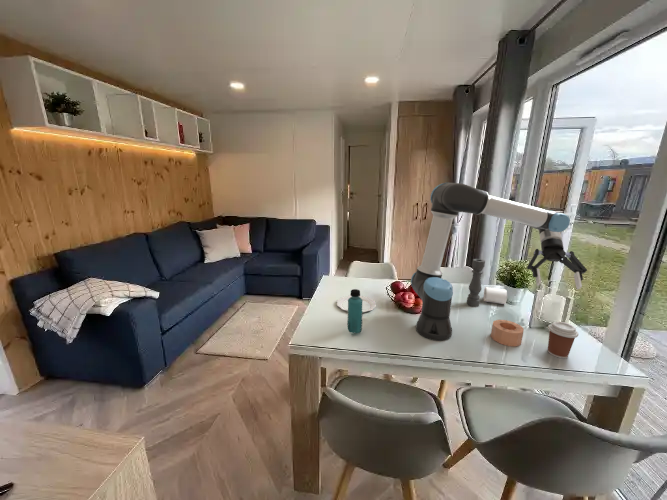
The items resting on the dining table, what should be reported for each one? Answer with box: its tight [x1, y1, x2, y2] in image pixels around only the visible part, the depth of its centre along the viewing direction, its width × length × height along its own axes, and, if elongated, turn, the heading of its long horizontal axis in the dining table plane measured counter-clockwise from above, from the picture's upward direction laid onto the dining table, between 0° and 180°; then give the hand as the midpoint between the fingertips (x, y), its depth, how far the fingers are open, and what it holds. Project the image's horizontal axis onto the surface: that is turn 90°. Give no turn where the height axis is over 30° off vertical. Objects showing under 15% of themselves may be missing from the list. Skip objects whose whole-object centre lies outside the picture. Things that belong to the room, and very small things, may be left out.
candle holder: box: [466, 258, 486, 308], centre depth 149 cm, size 6×6×25 cm
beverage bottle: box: [346, 288, 363, 334], centre depth 121 cm, size 6×7×20 cm
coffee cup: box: [547, 320, 579, 359], centre depth 108 cm, size 9×9×12 cm
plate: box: [336, 295, 377, 313], centre depth 150 cm, size 21×21×2 cm
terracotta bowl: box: [490, 319, 525, 347], centre depth 118 cm, size 11×11×6 cm
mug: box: [483, 286, 508, 305], centre depth 156 cm, size 12×10×8 cm
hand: (558, 286), depth 113 cm, fingers open, 13 cm apart
